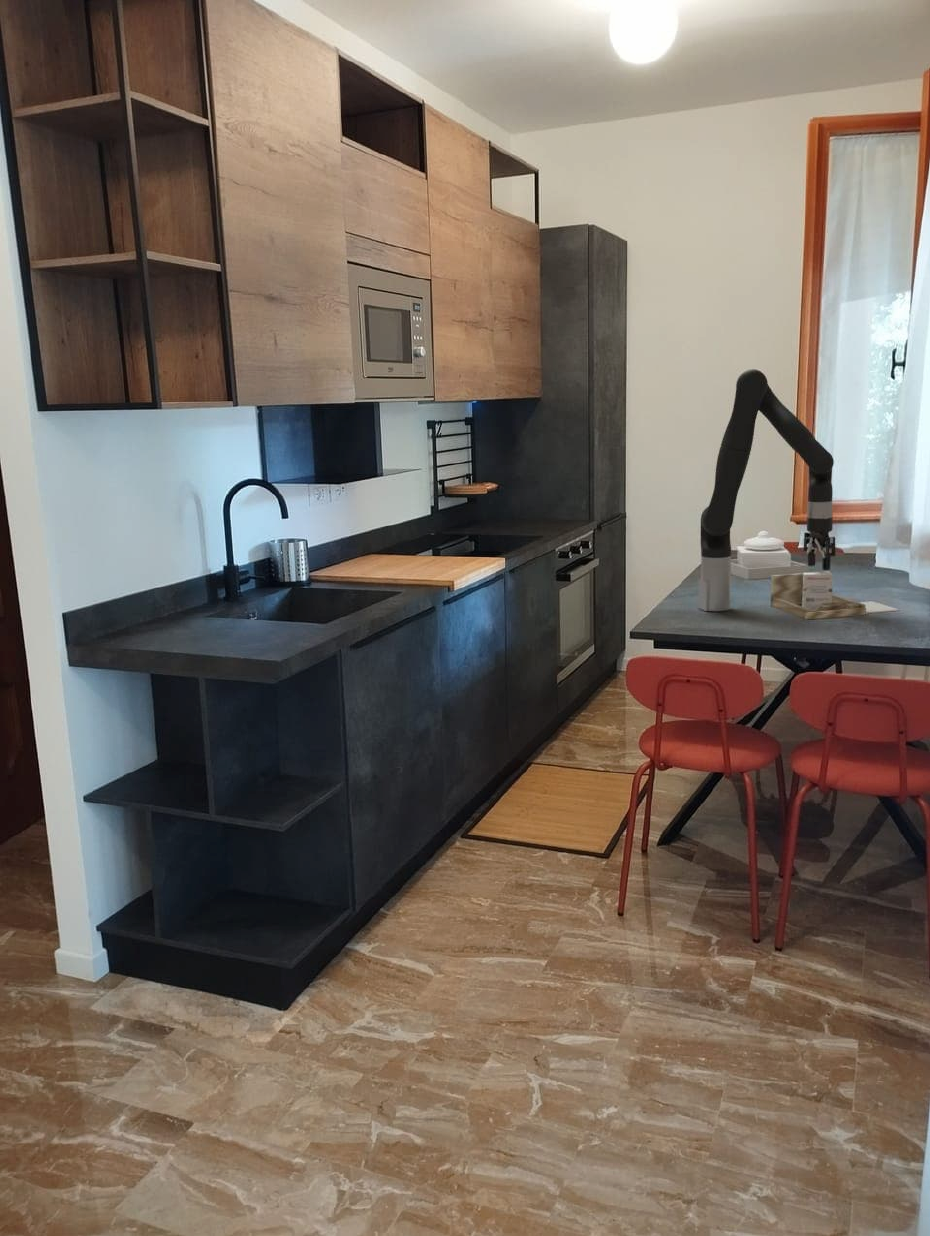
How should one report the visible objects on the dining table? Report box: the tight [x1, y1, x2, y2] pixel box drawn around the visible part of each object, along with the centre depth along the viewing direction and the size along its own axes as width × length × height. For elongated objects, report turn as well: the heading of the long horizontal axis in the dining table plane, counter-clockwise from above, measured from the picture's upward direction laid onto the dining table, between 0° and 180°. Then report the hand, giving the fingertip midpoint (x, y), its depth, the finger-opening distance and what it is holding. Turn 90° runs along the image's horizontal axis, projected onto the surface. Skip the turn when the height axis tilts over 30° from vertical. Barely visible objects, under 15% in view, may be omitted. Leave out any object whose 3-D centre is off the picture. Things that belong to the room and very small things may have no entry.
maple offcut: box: [846, 603, 859, 609], centre depth 307 cm, size 3×2×3 cm
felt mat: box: [858, 600, 900, 615], centre depth 315 cm, size 12×14×1 cm
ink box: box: [801, 572, 834, 612], centre depth 313 cm, size 9×5×12 cm, turn 77°
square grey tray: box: [731, 558, 808, 581], centre depth 383 cm, size 23×23×4 cm
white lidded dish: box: [735, 530, 792, 568], centre depth 381 cm, size 18×18×16 cm
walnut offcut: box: [819, 604, 844, 611], centre depth 306 cm, size 7×2×2 cm, turn 105°
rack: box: [770, 570, 867, 620], centre depth 313 cm, size 20×22×10 cm
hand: (818, 567), depth 312 cm, fingers open, 8 cm apart
